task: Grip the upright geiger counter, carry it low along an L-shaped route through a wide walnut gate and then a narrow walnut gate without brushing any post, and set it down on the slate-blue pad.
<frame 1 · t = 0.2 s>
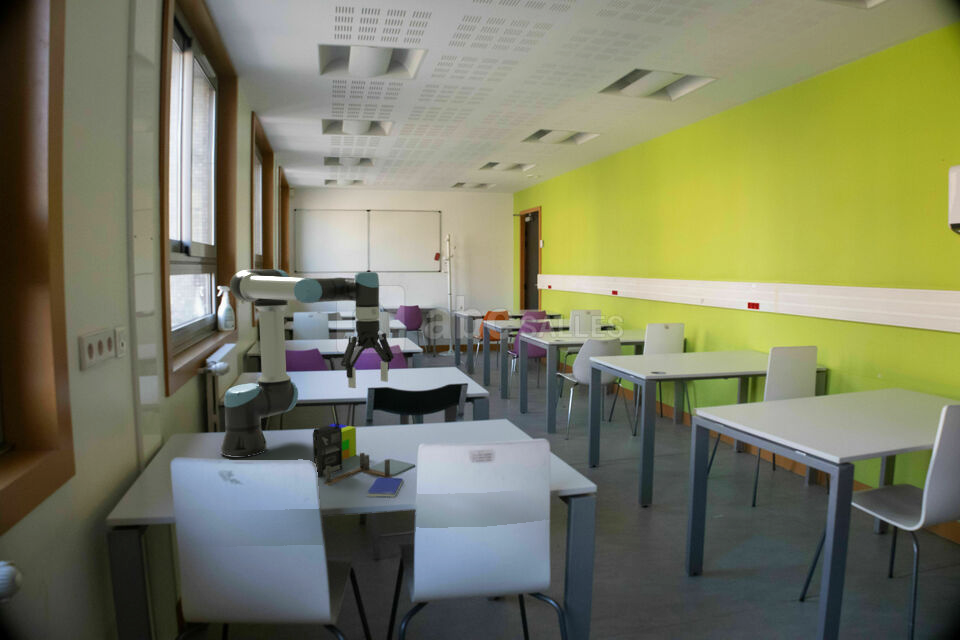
hand: (368, 384, 189), 27 cm above the table, tool pointing down, fingers open, 13 cm apart
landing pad: (391, 467, 189), on the table
blue book: (385, 490, 172), on the table
puzzle toy: (335, 457, 201), on the table
narrow gate: (377, 474, 183), on the table
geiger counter: (328, 472, 186), on the table
wide gate: (346, 476, 182), on the table
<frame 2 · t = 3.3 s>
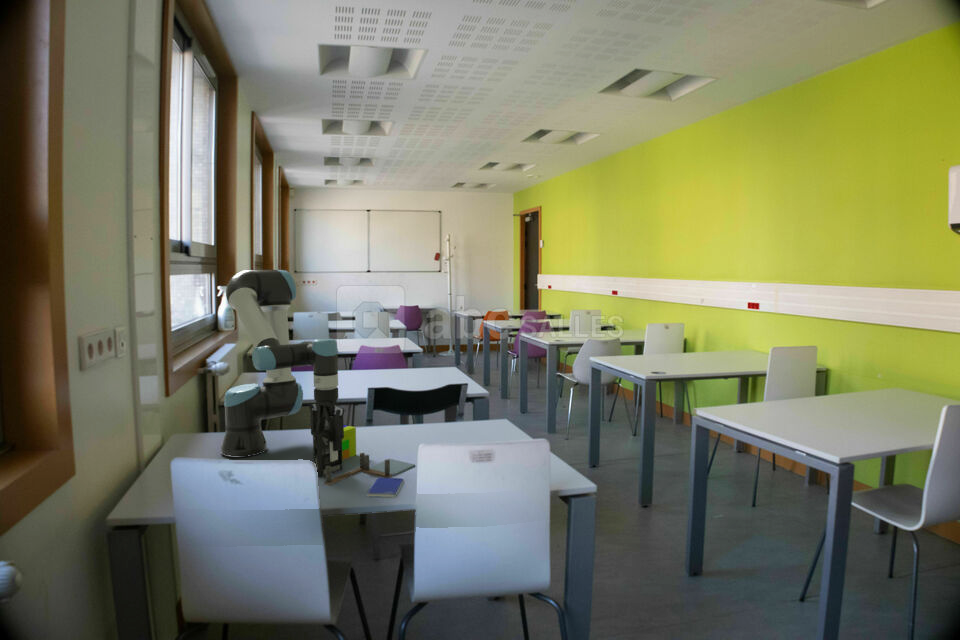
hand: (327, 458, 185), 4 cm above the table, tool pointing down, fingers closed on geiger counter, 5 cm apart
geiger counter: (328, 472, 186), on the table, touching gripper
everything else where it was.
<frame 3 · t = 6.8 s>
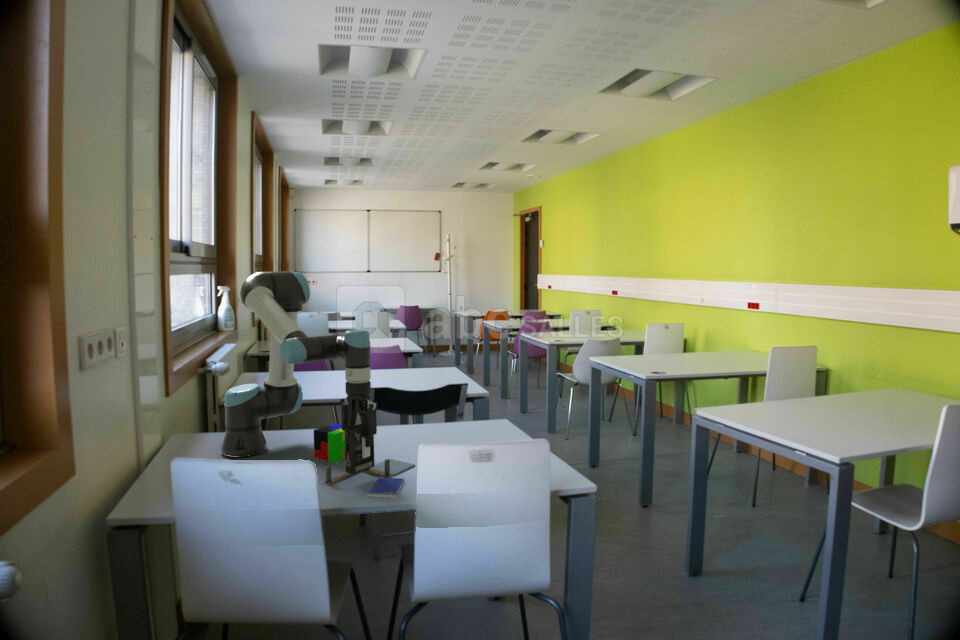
hand: (359, 455, 178), 8 cm above the table, tool pointing down, fingers closed on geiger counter, 5 cm apart
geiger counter: (359, 469, 178), point 3 cm above the table, touching gripper
everything else where it was.
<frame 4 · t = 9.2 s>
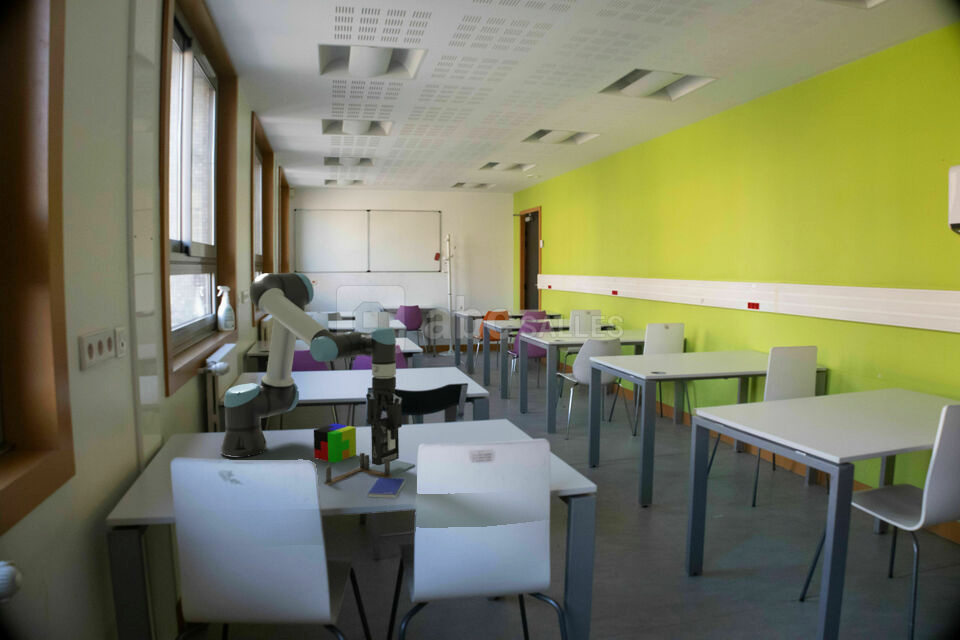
hand: (384, 447, 186), 8 cm above the table, tool pointing down, fingers closed on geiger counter, 5 cm apart
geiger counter: (385, 460, 186), point 3 cm above the table, touching gripper
everything else where it was.
when the fingers open (6 cm above the table, at t = 10.6 s): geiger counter stays where it is, resting on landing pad.
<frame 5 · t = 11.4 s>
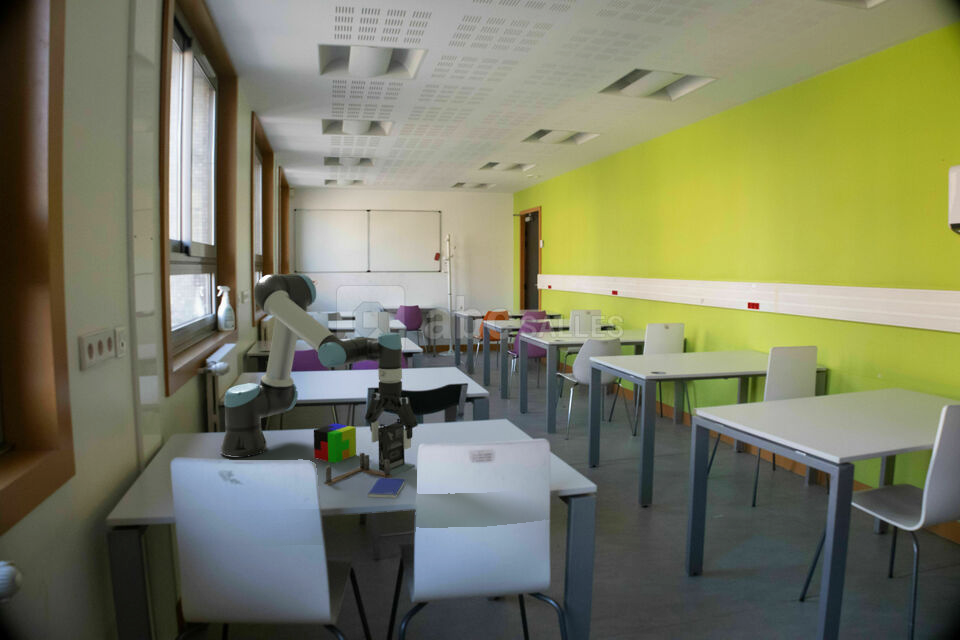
hand: (391, 444, 189), 8 cm above the table, tool pointing down, fingers open, 13 cm apart
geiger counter: (391, 466, 189), resting on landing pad
everything else where it was.
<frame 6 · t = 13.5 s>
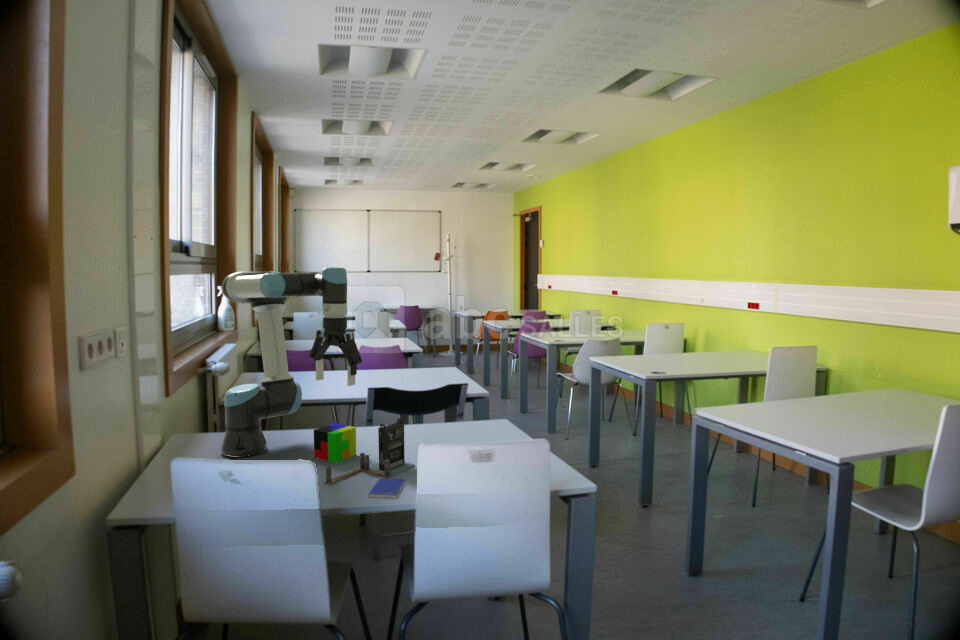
hand: (335, 382, 185), 29 cm above the table, tool pointing down, fingers open, 13 cm apart
nothing on the table moved.
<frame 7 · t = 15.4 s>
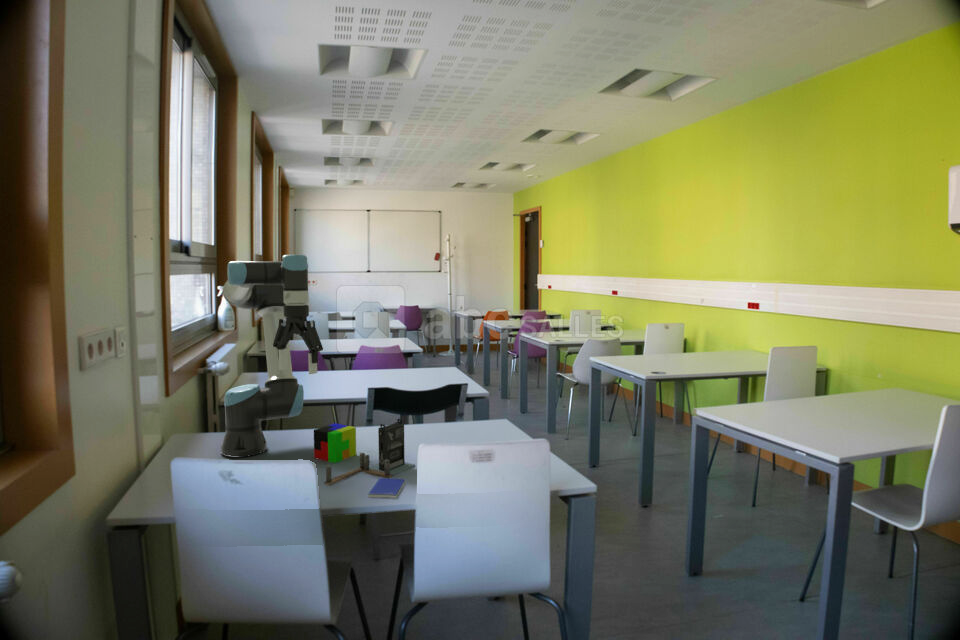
hand: (298, 371, 182), 33 cm above the table, tool pointing down, fingers open, 13 cm apart
nothing on the table moved.
at the end: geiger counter inside the target area on the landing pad (0.0 cm from its centre), point 0.3 cm above the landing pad's base; wide gate moved 0.2 cm from its start; narrow gate moved 0.2 cm from its start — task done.
